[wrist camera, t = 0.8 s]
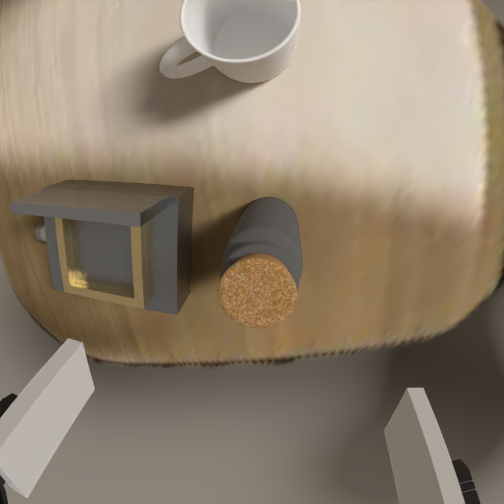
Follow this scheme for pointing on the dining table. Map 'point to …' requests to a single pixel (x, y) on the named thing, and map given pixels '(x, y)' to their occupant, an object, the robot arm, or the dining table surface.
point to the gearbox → (116, 240)
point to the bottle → (262, 265)
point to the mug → (235, 38)
